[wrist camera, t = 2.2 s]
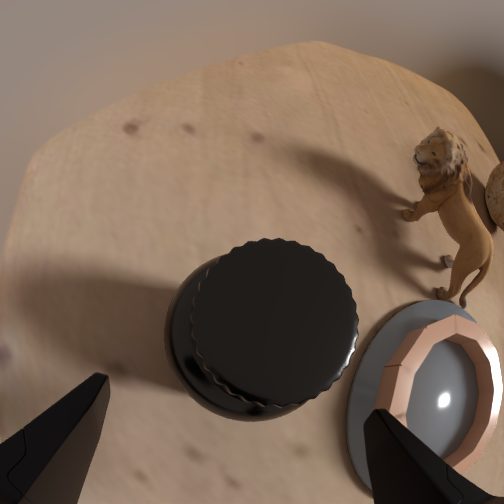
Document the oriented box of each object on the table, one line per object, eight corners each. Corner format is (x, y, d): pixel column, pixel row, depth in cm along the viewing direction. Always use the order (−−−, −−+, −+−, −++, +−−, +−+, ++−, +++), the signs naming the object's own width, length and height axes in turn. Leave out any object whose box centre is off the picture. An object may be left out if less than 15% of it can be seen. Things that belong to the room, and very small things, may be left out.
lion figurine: (371, 183, 27) (425, 120, 19) (404, 173, 29) (454, 118, 20) (447, 322, 23) (524, 292, 15) (472, 297, 25) (540, 265, 16)
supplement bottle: (169, 302, 19) (147, 206, 8) (271, 293, 21) (359, 200, 10) (182, 407, 17) (170, 460, 6) (287, 393, 18) (406, 404, 8)
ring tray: (467, 492, 16) (484, 496, 14) (312, 500, 16) (328, 513, 13) (499, 327, 24) (516, 321, 22) (374, 273, 23) (392, 261, 21)
